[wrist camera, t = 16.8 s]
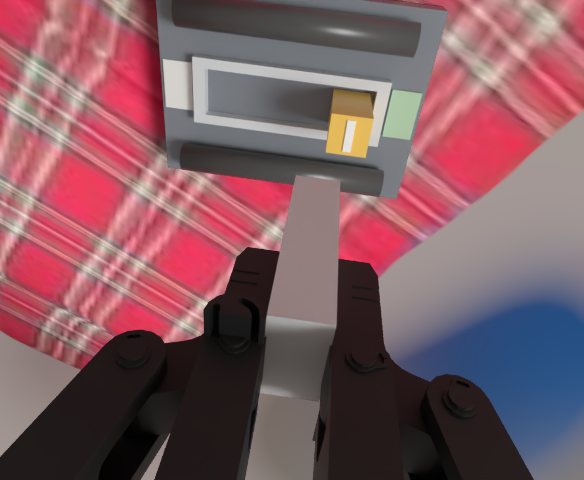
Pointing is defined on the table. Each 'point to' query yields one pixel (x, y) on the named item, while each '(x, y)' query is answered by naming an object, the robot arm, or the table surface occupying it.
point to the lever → (349, 123)
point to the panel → (293, 85)
